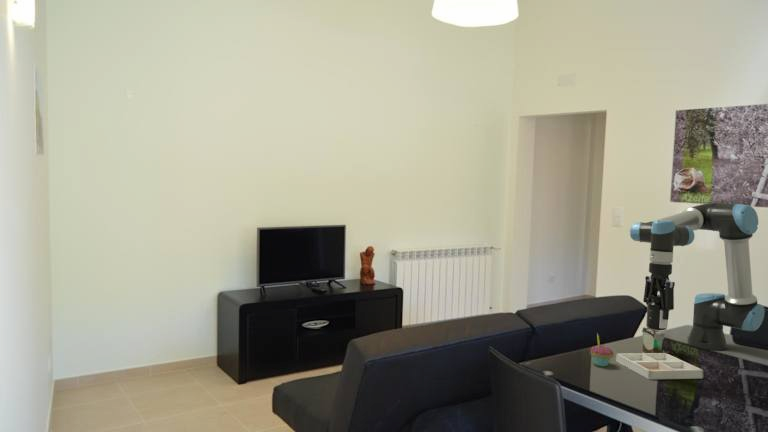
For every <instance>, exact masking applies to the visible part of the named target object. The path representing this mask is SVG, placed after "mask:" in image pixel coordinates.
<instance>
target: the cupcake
mask: <svg viewBox="0 0 768 432" xmlns="http://www.w3.org/2000/svg"><path fill="white" fill-rule="evenodd" d="M596 340H597V345H595V346H593V347H591V348H590V349H589V354H590V355H591V356H592V359H593V360H592V361H593V362H594V365H596V366H599V367H608V365H609V362H610V360H611V359H613V358H614V355H615V354H614V351H613V350H612V348H610V347H608V346H605V345H600V343H601V342H600V336H599V333H598V332H596Z"/></svg>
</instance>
